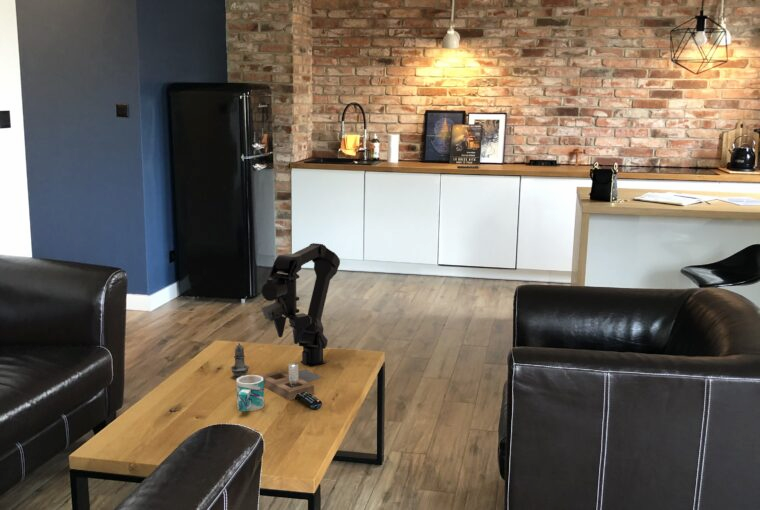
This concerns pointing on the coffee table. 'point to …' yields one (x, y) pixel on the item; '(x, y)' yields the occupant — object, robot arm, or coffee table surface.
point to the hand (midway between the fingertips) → (288, 340)
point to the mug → (250, 392)
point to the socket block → (285, 384)
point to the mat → (307, 375)
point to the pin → (293, 375)
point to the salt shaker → (239, 363)
